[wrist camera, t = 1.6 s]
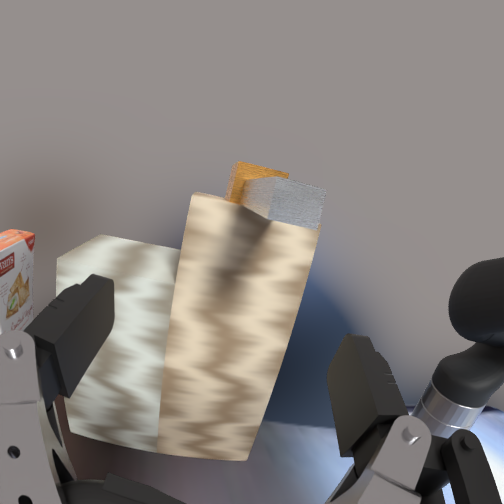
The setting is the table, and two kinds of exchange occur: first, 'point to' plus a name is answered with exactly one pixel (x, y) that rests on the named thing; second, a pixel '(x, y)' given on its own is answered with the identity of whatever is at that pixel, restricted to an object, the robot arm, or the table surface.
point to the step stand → (191, 331)
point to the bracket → (275, 195)
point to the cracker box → (16, 280)
